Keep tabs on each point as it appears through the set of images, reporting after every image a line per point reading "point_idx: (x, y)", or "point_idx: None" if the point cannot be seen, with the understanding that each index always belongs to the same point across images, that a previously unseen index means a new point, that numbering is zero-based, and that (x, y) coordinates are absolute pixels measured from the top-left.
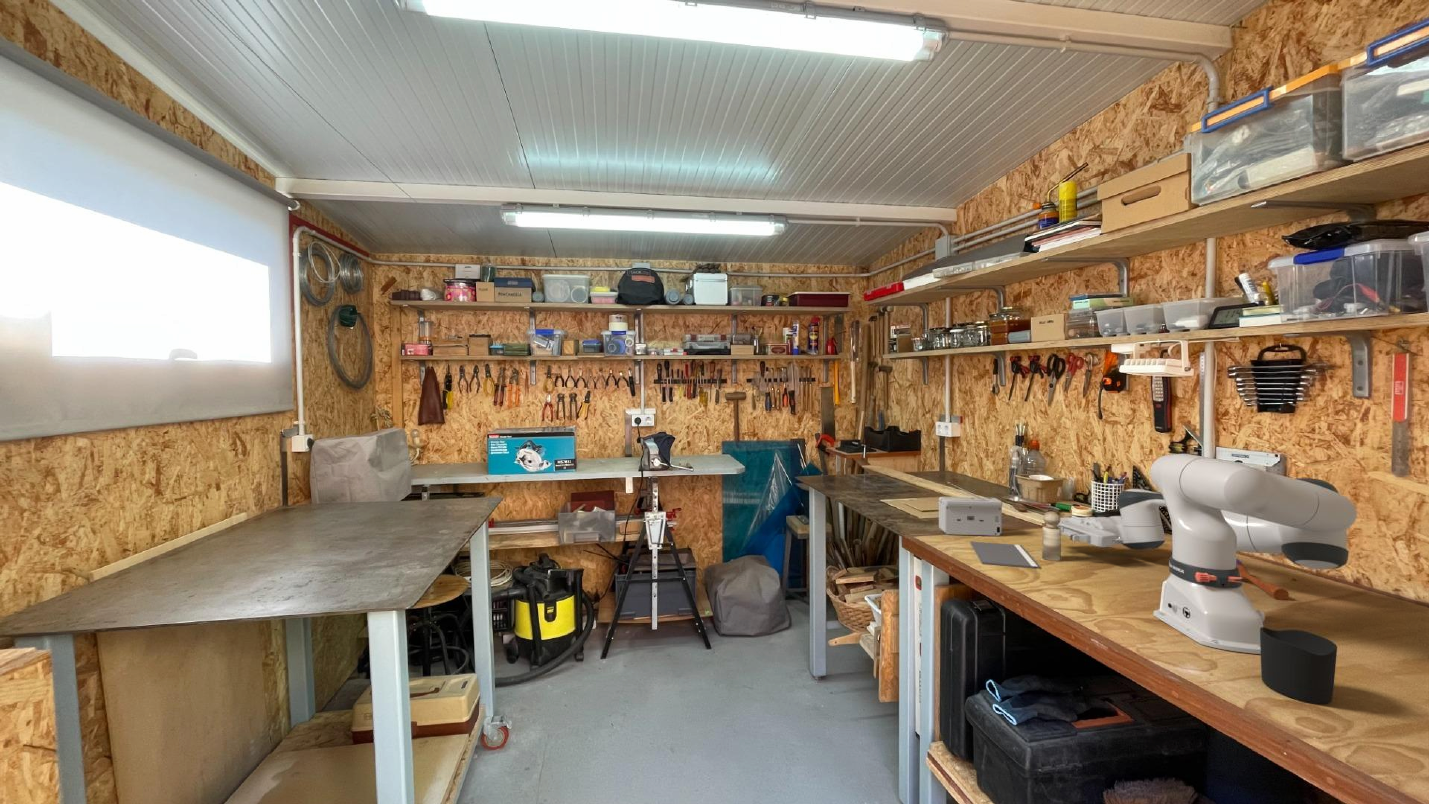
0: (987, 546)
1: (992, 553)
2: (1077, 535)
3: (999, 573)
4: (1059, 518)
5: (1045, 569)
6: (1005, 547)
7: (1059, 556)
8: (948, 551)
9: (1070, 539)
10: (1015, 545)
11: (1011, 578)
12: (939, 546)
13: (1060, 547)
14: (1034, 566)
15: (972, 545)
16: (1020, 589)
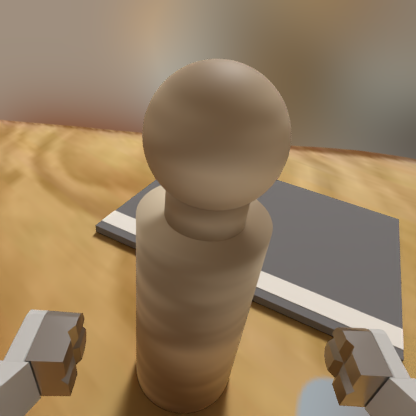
0: (343, 227)
1: (261, 200)
2: (15, 345)
3: (119, 149)
4: (147, 124)
5: (82, 240)
6: (339, 268)
7: (136, 358)
8: (296, 157)
9: (84, 339)
10: (383, 324)
11: (80, 147)
12: (339, 162)
13: (141, 336)
14: (108, 215)
15: (350, 204)
16: (21, 128)
